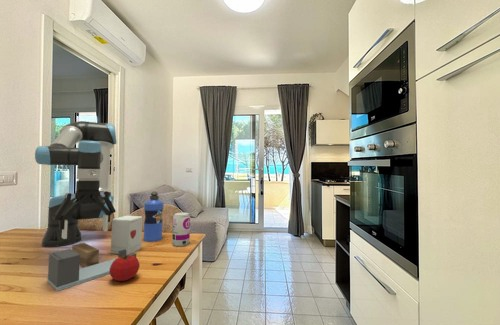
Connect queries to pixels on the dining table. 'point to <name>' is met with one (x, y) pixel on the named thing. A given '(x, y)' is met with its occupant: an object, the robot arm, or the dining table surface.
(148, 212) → the water bottle
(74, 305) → the dining table surface
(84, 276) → the board
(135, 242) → the supplement box
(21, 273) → the dining table surface
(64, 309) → the dining table surface
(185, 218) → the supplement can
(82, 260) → the walnut slat
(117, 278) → the tomato
